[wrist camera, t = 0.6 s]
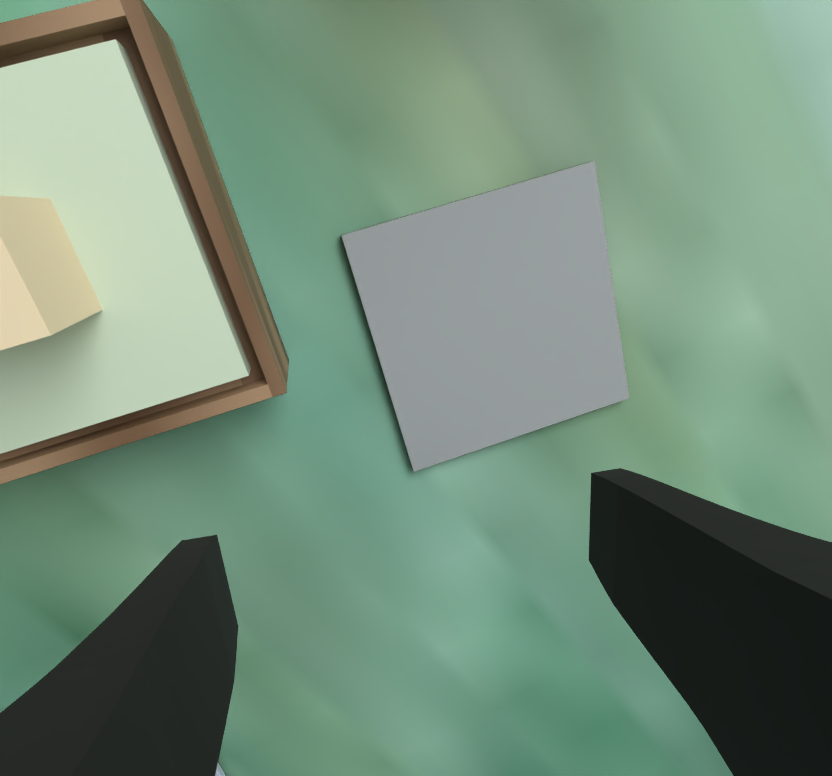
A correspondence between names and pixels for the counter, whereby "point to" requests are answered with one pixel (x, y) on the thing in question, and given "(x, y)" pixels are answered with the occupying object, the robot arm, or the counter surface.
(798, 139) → the counter surface
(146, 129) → the lid
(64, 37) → the walnut box
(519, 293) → the rubber mat
